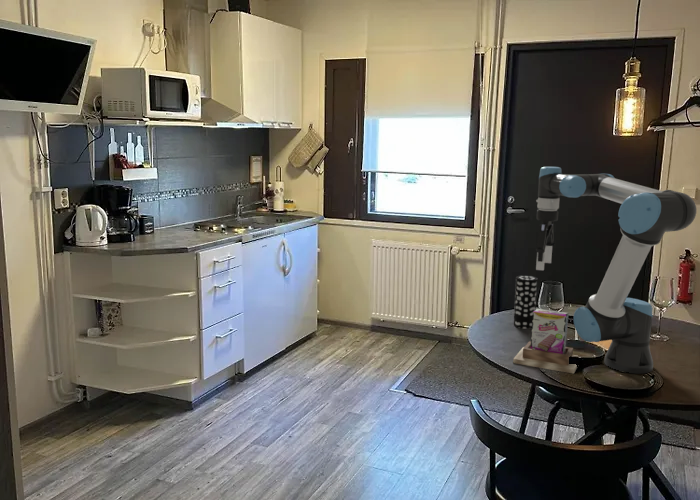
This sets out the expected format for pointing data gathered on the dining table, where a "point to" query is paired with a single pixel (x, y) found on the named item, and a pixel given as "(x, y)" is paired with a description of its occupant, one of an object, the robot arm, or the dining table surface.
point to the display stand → (545, 359)
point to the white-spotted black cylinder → (525, 301)
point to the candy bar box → (549, 331)
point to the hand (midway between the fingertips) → (543, 266)
